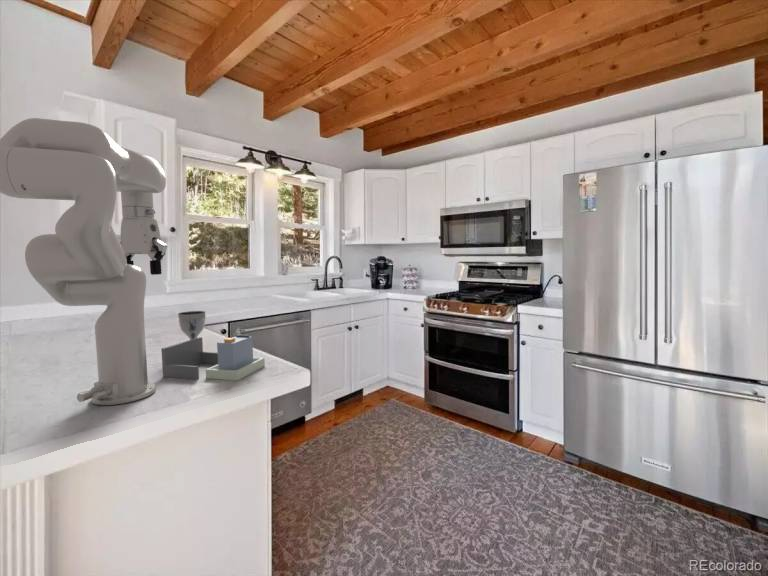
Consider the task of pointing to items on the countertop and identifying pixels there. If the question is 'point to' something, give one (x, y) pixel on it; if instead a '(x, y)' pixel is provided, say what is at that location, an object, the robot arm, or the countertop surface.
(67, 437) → the countertop surface
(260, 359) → the tray
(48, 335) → the countertop surface
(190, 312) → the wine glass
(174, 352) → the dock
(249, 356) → the slate blue upright block
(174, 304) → the countertop surface
